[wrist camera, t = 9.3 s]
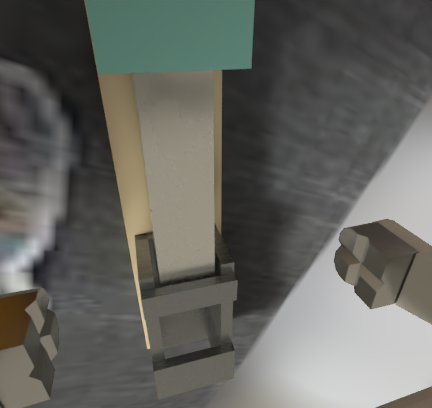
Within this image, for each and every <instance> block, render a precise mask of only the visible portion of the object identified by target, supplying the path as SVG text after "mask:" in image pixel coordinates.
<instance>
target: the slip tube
mask: <svg viewBox="0 0 432 408" xmlns="http://www.w3.org/2000/svg"><path fill="white" fill-rule="evenodd" d="M131 74H132V82H133V89H134V97H135V105H136V112H137V120H138V128H139V135H140V143H141V151H142V158H143V166H144V174H145V181H146V189H147V197H148V204H149V212H150V220H151V227H152V235H153V243H154V250H155V258H156V266H157V273H158V280H159V287H165V286H170V285H175V284H180V283H185V282H190V281H195V280H200V279H205V278H210V277H215V235H214V109H213V70H203V71H176V72H149V73H131Z"/></svg>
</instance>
